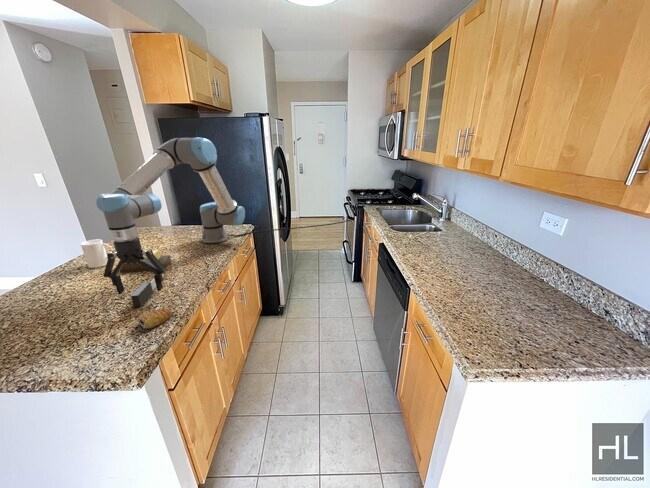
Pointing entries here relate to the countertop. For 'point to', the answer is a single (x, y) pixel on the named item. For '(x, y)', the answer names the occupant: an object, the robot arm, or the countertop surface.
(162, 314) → the pastry
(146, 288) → the butter knife
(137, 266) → the butter board
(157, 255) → the butter slice
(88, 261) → the mug
